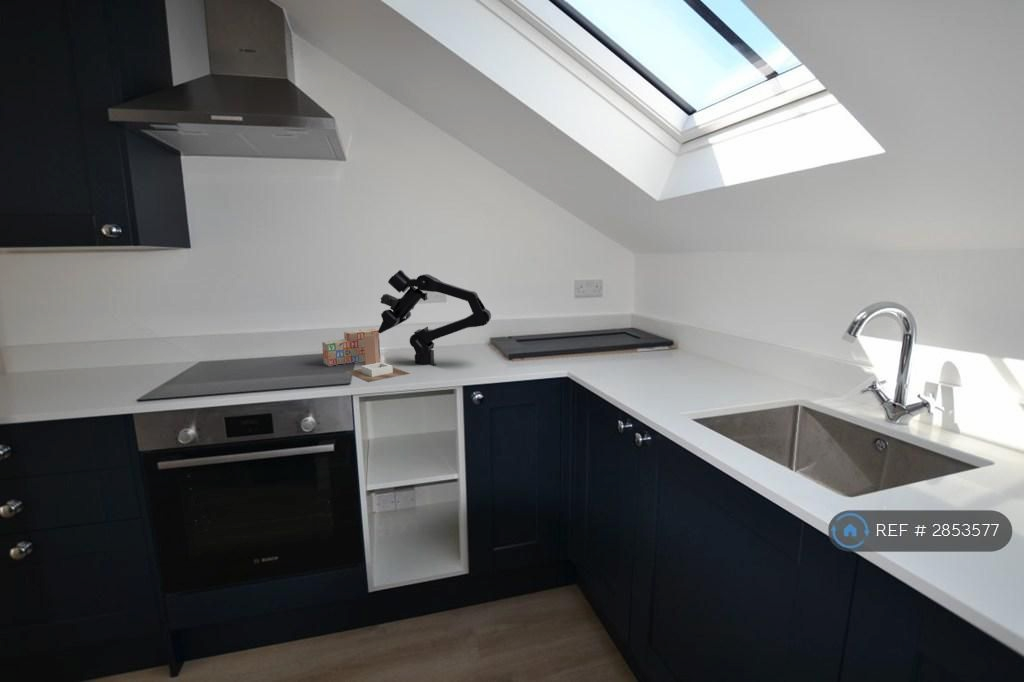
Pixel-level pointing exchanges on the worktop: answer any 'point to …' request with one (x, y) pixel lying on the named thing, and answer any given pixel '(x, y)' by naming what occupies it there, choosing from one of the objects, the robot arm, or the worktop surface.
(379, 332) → the robot arm
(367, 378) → the walnut board
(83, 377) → the worktop surface
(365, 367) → the white square frame
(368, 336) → the terracotta pillar
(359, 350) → the stack of blocks
